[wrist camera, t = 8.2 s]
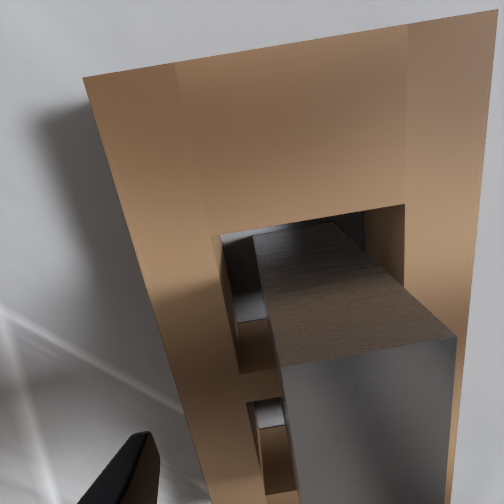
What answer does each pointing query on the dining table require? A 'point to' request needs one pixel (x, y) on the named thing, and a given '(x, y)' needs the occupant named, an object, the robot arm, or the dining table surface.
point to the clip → (356, 372)
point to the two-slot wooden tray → (295, 201)
